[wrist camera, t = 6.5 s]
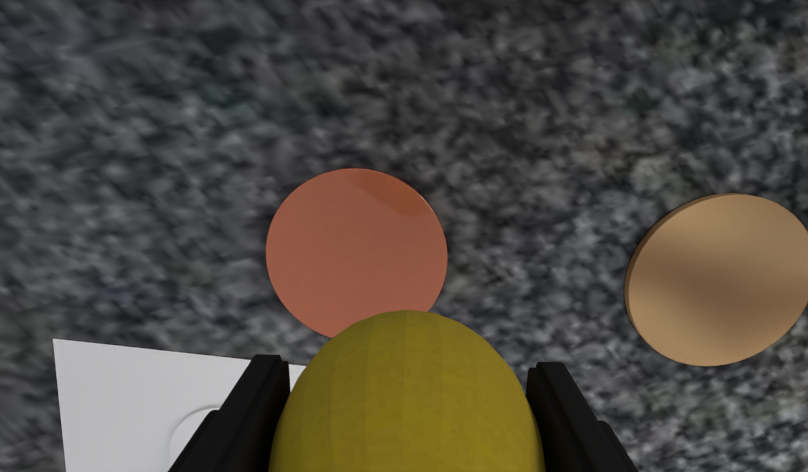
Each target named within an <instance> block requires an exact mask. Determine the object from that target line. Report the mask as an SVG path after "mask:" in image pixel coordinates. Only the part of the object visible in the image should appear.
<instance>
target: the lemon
mask: <svg viewBox="0 0 808 472" xmlns="http://www.w3.org/2000/svg"><path fill="white" fill-rule="evenodd" d="M268 472H546V467H545V460H544V454H543V447H542V441H541V437H540V432H539V428H538V425H537V421H536V418H535V416H534V413H533V411H532V409H531V407H530V404H529V402H528V400H527V398H526V396H525V394H524V392H523V390H522V388H521V385H520V383H519V381H518V379H517V378H516V376H515V374H514V373H513V371H512V370H511V368H510V367H509V366H508V364H507V363H506V362H505V361H504V360H503V359H502V358H501V356H500V355H499V354H498V353H497V352H496V351H495V350H494V349H493V347H492V346H491V345H490V344H489V343H488V342H487V341H486V340H485V339H484V338H482V337H481V336H479V335H478V334H476V333H475V332H473V331H472V330H470V329H469V328H467V327H466V326H464V325H463V324H461V323H459V322H457V321H455V320H452V319H449V318H446V317H444V316H441V315H438V314H435V313H432V312H424V311H415V310H400V311H392V312H384V313H380V314H377V315H374V316H372V317H369V318H366V319H364V320H361V321H358V322H356V323H353V324H352V325H350V326H349V327H348V328H346V329H345V330H343V331H342V332H340V333H339V334H337V335H336V336H335V337H333V338H332V339H330V340H329V341H328V342H327V343H326V344H325V345H324V346H323V347H322V348H321V350H320V351H319V352H318V353H317V354H316V356H315V357H314V358H313V359H312V360H311V362H310V363H309V364H308V365H307V366H306V368H305V369H304V370H303V371H302V373H301V374H300V376H299V377H298V379H297V381H296V383H295V385H294V387H293V389H292V391H291V393H290V395H289V398H288V400H287V402H286V404H285V407H284V409H283V411H282V413H281V416H280V418H279V421H278V424H277V427H276V430H275V434H274V438H273V442H272V447H271V453H270V460H269V469H268Z"/></svg>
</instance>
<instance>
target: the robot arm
mask: <svg viewBox="0 0 808 472" xmlns="http://www.w3.org/2000/svg"><path fill="white" fill-rule="evenodd" d="M290 393H291V391H290V373H289V363H288V362H287V361H282V359H281V356H280V355H261V354H257V355H255V356H254V357H253V359H252V360H251V362H250V363H249V365H248V366H247V368H246V369H245V371H244V372H243V374H242V375H241V377H240V378H239V380H238V381H237V383H236V384H235V386H234V388H233V389H232V391H231V392H230V394H229V395H228V397H227V398H226V400H225V401H224V403H223V404H222V406H221V407H220V409H219V410H212V411H210V412H209V413H208V414H207V415H206V417H205V418H204V420H203V421H202V422H201V424H200V425H199V427H198V428H197V430H196V431H195V433H194V434H193V436H192V437H191V439H190V440H189V441H188V443H187V444H186V446H185V447H184V449H183V450H182V452H181V453H180V455H179V456H178V457H177V459H176V460H175V462H174V463H173V465H172V466H171V468H170V469H169V471H168V472H268V469H269V460H270V453H271V447H272V442H273V438H274V434H275V430H276V427H277V424H278V421H279V418H280V416H281V413H282V411H283V409H284V407H285V404H286V402H287V400H288V398H289V395H290ZM526 398H527V400H528V402H529V404H530V407H531V409H532V411H533V413H534V416H535V418H536V421H537V425H538V428H539V432H540V437H541V441H542V447H543V454H544V460H545V467H546V472H638V470H637V469H636V467H635V466H634V464H633V462H632V461H631V459H630V458H629V456H628V454H627V453H626V451H625V450H624V448H623V446H622V445H621V443H620V442H619V440H618V438H617V437H616V435H615V434H614V432H613V430H612V429H611V427H610V426H609V425H608V424H607V422H605V421H598V420H597V418H596V417H595V415H594V413H593V412H592V410H591V408H590V407H589V405H588V403H587V402H586V400H585V398H584V397H583V395H582V393H581V392H580V390H579V388H578V387H577V385H576V383H575V382H574V380H573V378H572V377H571V375H570V373H569V372H568V370H567V368H566V367H565V365H564V364H563V363H562V362H538V363H537V365H536V368H529V371H528V378H527V388H526Z"/></svg>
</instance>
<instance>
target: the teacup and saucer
mask: <svg viewBox="0 0 808 472" xmlns="http://www.w3.org/2000/svg"><path fill="white" fill-rule="evenodd" d="M212 410H215V408H214V407H209V408H205V409H201V410H198V411H196V412H194V413H192V414H190V415H188V416H187V417H186V418H184V419H183V420H182V421H181V422H180V423H179V424H178V425H177V427H176V428H175V429H174V431H173V433H172V435H171V437H170V441H169V446H168V456H169V462H170V465H171V466H172V465H173V463H174V462H175V460H176V459H177V457H178V456H179V455H180V453H181V452H182V450H183V449H184V447H185V446H186V444H187V443H188V441H189V440H190V439H191V437H192V436H193V434H194V433H195V431H196V430H197V428H198V427H199V425H200V424H201V422H202V421H203V420H204V418H205V417H206V415H207V414H208V413H209V412H210V411H212Z"/></svg>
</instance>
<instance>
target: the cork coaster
mask: <svg viewBox="0 0 808 472" xmlns="http://www.w3.org/2000/svg"><path fill="white" fill-rule="evenodd" d="M624 293H625V304H626V308H627V312H628V315H629V318H630V320H631V322H632V324H633V326H634V328H635V330H636V331H637V332H638V333H639V335H640V336H641V337H642V338H643V339H644V340H645V341H646V342H647V343H648V344H649V345H650V346H651V347H652V348H653V349H655V350H656V351H657V352H659V353H660V354H662V355H664V356H666V357H668V358H670V359H672V360H675V361H678V362H681V363H685V364H689V365H697V366H717V365H724V364H729V363H733V362H737V361H740V360H743V359H746V358H748V357H751V356H753V355H755V354H757V353H759V352H761V351H762V350H764V349H766V348H767V347H769V346H770V345H772V344H773V343H774V342H776V341H777V340H778V339H779V338H781V337H782V336H783V335H784V334H785V333H786V332H787V331H788V330H789V329H790V328H791V327H792V325H793V324H794V323H795V322H796V321H797V319H798V318H799V316H800V315H801V313H802V312H803V310H804V308H805V306H806V304H807V302H808V232H807V230H806V229H805V227H804V226H803V224H802V223H801V222H800V221H799V220H798V219H797V218H796V216H795V215H793V214H792V213H791V212H790V211H788V210H787V209H786V208H784V207H783V206H781V205H779V204H777V203H775V202H773V201H770V200H768V199H765V198H761V197H757V196H753V195H748V194H739V193H723V194H716V195H710V196H706V197H703V198H699V199H696V200H694V201H691V202H689V203H686V204H684V205H682V206H681V207H679V208H677V209H675V210H673V211H672V212H670V213H669V214H668V215H666V216H665V217H664V218H662V219H661V220H660V221H659V222H658V223H657V224H656V225H654V226H653V227H652V228H651V230H650V231H649V232H648V233H647V234H646V235H645V236H644V238H643V239H642V241H641V242H640V244H639V245H638V247H637V248H636V250H635V252H634V254H633V256H632V258H631V261H630V264H629V266H628V270H627V274H626V278H625V288H624Z"/></svg>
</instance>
